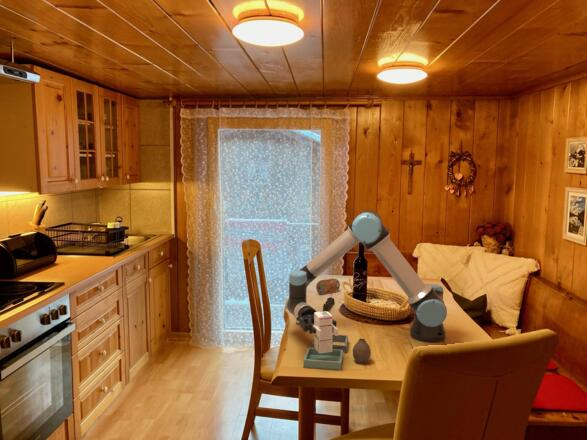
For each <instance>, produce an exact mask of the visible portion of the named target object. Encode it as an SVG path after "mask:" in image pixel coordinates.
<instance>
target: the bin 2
mask: <svg viewBox="0 0 587 440" xmlns="http://www.w3.org/2000/svg"><path fill="white" fill-rule="evenodd" d="M343 360H344V353H343V350H337V349H332V352H328V353H318V352H317V351H316V349H315V348H312V347H307V350H306V352H305V354H304V357H303V361H302V362H303V363H302V365H303V367H302V368H303V369H304V368H305V369H317V370H319V369H320V370H327V371H328V370H329V371H330V370H331V371H342V368H343V367H342V365H343Z"/></svg>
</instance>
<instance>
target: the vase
mask: <svg viewBox="0 0 587 440" xmlns="http://www.w3.org/2000/svg"><path fill="white" fill-rule="evenodd" d="M371 353H372V351H371V347H370V345H369V344H368V343H367V341H366V339H365V338H359V339H358V341H357V342H355V344H354V346H353V348H352V358H353V360H354V361H355V362H356V363H358V364H366V363H368V362H369V361H370V358H371Z"/></svg>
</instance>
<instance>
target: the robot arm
mask: <svg viewBox="0 0 587 440" xmlns="http://www.w3.org/2000/svg"><path fill="white" fill-rule="evenodd" d="M390 236H391V232H390V231H389V230H388V228H387V227H386V226H385V225H384V223H383V220H382V218H381V216H380V214H378V212H376V211H374V210H368V209H367V210H363V211H361V212H360V213H358V214H357V216H356V217H355V218H354V220H353V221H352V222H351V223H350V224H349V225H348V226H347V229H346V230H345V231H344V232H343V233H342V234H340V235H339V236H337V238H335V240H333V241H332V242H331V243H330V244H329V245H327V246H326V247H325V248H324V249H323V250H321V251H320V252H319V253H318V254H317V255H316V256H315V257H313V258H312V259H311V260H310V261H309V262H307V263H306V264H305V265H304V266H303V267H301V268H300V269H298V270H292V271H291V272H289V278H288V289H289V291H288V293H289V295H288V299H287V300H286V302H285V307H286V309H287V311H288V312H289V313H290V314H291V315H292V316H294V317H295V321H296V323H295V325H297V326H298V327H300V328H301V330H303V332H308V334H310V335H312V334H313V335H314V334H315V335H317V336H318V337H319V338H321V333H322V331H321V330H320V329H319V328H318V327H316V326H315V325H314V312H317V311H316V309H315V308H313V307H312V306H311V305H310V304H308V303H307V291H308V290H307V289H308V286H309V285H310V284H311V283H312V282H313V281H314V280H316V279H317V278H318V277H319V276H321V275H322V274H323V273H324V272H325V271H326V270H328V269H329V267H331V266H332V265H333V264H334V263H336V262H337V261H339V259H341V258H342V257H343V256H344V255H345V254H347V253H348V252H349V251H350V250H352V249H353V248H354V247H355V246H356V245H358V244H359V243H361V244H362V246H364V248H365V249H366V251H371V252H373V254H374V255H375V256H376V258H377V259H378V260H379V261H380V263H381V264H382V265H383V266H384V268H385V269H386V270H387V271H388V273H389V274H390V275H391V277H392V278H393V279H394V281H395V282H396V283H397V285H398V286H399V287H400V288H401V289H402V291H403V292H404V294H406V296H407V304H408V305H409V307H410V308H411V309H412V310H413V312H414V319H412V324H411V327H410V329H409V335H410V337H411V338H413V339H415V340H417V341H420V342H425V343H437V342H438V343H439V342H443V341H444V340H445V339H446V338H447V337H446V335H447V334H446V329H445V326H444V322H445V321H446V318H447V315H448V310H447V305H445V301H444V287H443V286H442V285H440V284H435V283H434V284H432V283H424V281H423V280H422V278H421V277H420V276H419V275H418V273H417V272H416V271H415V270H414V268H413V267H412V266H411V264H410V263H409V262H408V260H407V259H406V258H405V257H404V255H403V254H402V253H401V251H400V249H398V247H397V246H396V245H395V244H394V243H393V241H392V239H391V237H390ZM332 334H334V335H336V336H338V335H339V328H338V327H337V321H336V320H334V319H333V318H332Z"/></svg>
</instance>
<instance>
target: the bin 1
mask: <svg viewBox="0 0 587 440" xmlns="http://www.w3.org/2000/svg"><path fill="white" fill-rule="evenodd" d="M333 343H344V344H333ZM348 346H349V335H348V334H338V336H336V335H334V334H333V333H332V349H337V350H343V354H347V352H348ZM311 348H314V338H313V339H312V342H311Z"/></svg>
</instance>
